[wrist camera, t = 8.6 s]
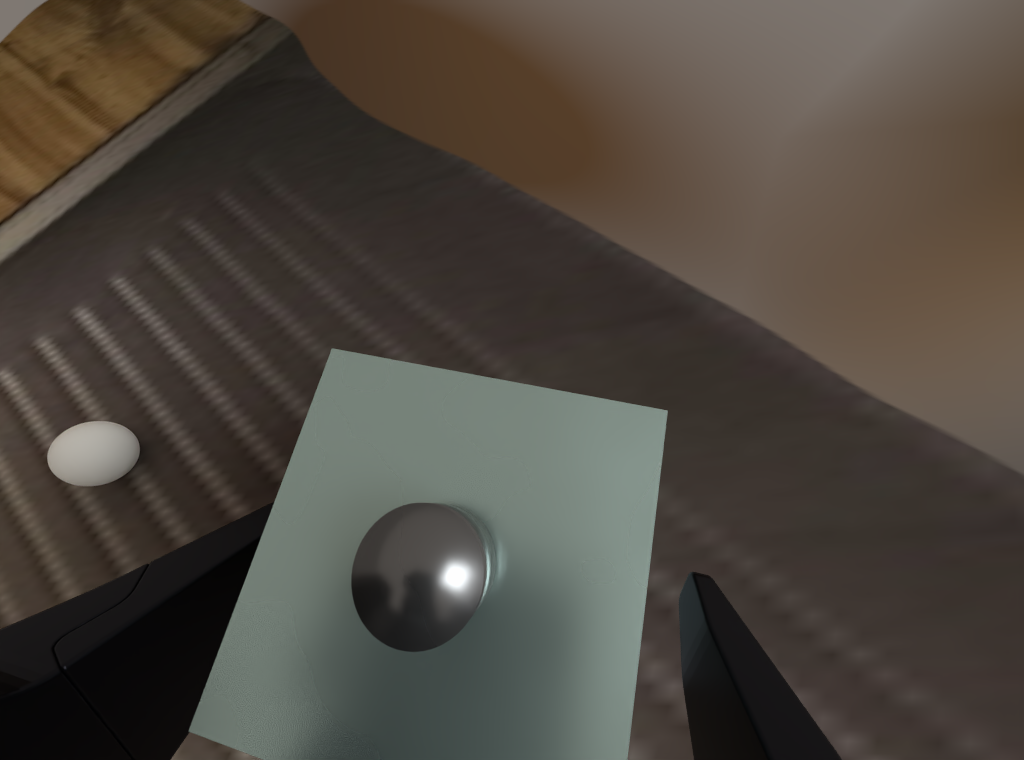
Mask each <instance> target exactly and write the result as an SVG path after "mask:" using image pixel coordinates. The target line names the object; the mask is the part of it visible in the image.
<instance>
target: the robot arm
mask: <svg viewBox="0 0 1024 760" xmlns="http://www.w3.org/2000/svg"><path fill="white" fill-rule="evenodd" d="M273 505H274V502H273V503H271V504H269V505H267V506H265V507H263V508H260V509H258V510H256V511H254V512H252V513H250V514H248V515H246V516H244V517H242V518H240V519H238V520H236V521H234V522H232V523H230V524H228V525H226V526H224V527H222V528H219V529H217V530H215V531H213V532H211V533H209V534H207V535H205V536H203V537H201V538H199V539H197V540H195V541H193V542H191V543H189V544H187V545H185V546H183V547H181V548H178V549H176V550H174V551H172V552H170V553H168V554H166V555H164V556H162V557H160V558H158V559H156V560H154V561H152V562H151V563H150V564H145V565H143V566H141V567H139V568H137V569H135V570H133V571H131V572H129V573H127V574H125V575H123V576H121V577H119V578H116V579H114V580H112V581H110V582H108V583H106V584H104V585H102V586H99V587H97V588H95V589H93V590H91V591H88V592H86V593H84V594H81V595H79V596H77V597H75V598H72V599H70V600H68V601H66V602H63V603H61V604H59V605H56V606H54V607H52V608H49V609H47V610H45V611H42V612H40V613H38V614H35V615H33V616H31V617H28V618H26V619H23V620H21V621H19V622H16V623H14V624H12V625H9V626H7V627H5V628H2V629H0V760H171V758H172V757H173V755H174V754H175V752H176V751H177V749H178V748H179V747H180V745H181V744H182V742H183V741H184V739H185V738H186V736H187V735H188V734H189V729H190V726H191V723H192V721H193V718H194V715H195V713H196V710H197V707H198V705H199V702H200V699H201V697H202V694H203V691H204V689H205V686H206V683H207V681H208V678H209V675H210V673H211V670H212V667H213V665H214V662H215V659H216V657H217V654H218V651H219V649H220V646H221V643H222V641H223V638H224V635H225V633H226V630H227V627H228V625H229V622H230V619H231V617H232V614H233V611H234V609H235V606H236V603H237V601H238V598H239V595H240V593H241V590H242V587H243V585H244V582H245V579H246V577H247V574H248V571H249V569H250V566H251V563H252V561H253V558H254V555H255V553H256V550H257V547H258V545H259V542H260V539H261V537H262V534H263V531H264V529H265V526H266V523H267V521H268V518H269V515H270V513H271V510H272V507H273ZM679 618H680V641H681V664H682V679H683V688H684V695H685V702H686V708H687V715H688V722H689V729H690V735H691V742H692V749H693V756H694V760H842V759H841V757H840V756H839V755H838V753H837V752H836V750H835V749H834V748H833V746H832V745H831V743H830V742H829V741H828V739H827V738H826V736H825V735H824V734H823V732H822V731H821V729H820V728H819V727H818V725H817V724H816V722H815V721H814V720H813V718H812V717H811V715H810V714H809V713H808V711H807V710H806V708H805V707H804V706H803V704H802V703H801V702H800V700H799V699H798V697H797V696H796V695H795V693H794V692H793V690H792V689H791V688H790V686H789V685H788V683H787V682H786V681H785V679H784V678H783V676H782V675H781V674H780V672H779V671H778V669H777V668H776V667H775V665H774V664H773V662H772V661H771V660H770V658H769V657H768V655H767V654H766V653H765V651H764V650H763V648H762V647H761V646H760V644H759V643H758V642H757V640H756V639H755V637H754V636H753V635H752V633H751V632H750V630H749V629H748V628H747V626H746V625H745V623H744V622H743V621H742V619H741V618H740V616H739V615H738V614H737V612H736V611H735V609H734V608H733V607H732V605H731V604H730V602H729V601H728V600H727V598H726V597H725V595H724V594H723V593H722V591H721V590H720V588H719V587H718V586H717V584H716V583H715V581H714V580H713V579H712V578H711V577H710V576H708V575H705V574H701V573H696V572H691V573H690V574H689V575H688V577H687V580H686V582H685V584H684V587H683V589H682V591H681V594H680V598H679Z"/></svg>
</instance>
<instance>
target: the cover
mask: <svg viewBox="0 0 1024 760" xmlns="http://www.w3.org/2000/svg"><path fill="white" fill-rule="evenodd" d="M667 412H668V411H667V410H661V409H656V408H651V407H645V406H640V405H634V404H629V403H624V402H618V401H613V400H607V399H602V398H597V397H591V396H586V395H580V394H575V393H570V392H564V391H559V390H554V389H548V388H543V387H537V386H532V385H527V384H521V383H516V382H510V381H505V380H500V379H494V378H489V377H483V376H478V375H473V374H467V373H462V372H456V371H451V370H446V369H440V368H435V367H430V366H424V365H419V364H413V363H408V362H403V361H397V360H392V359H386V358H381V357H376V356H370V355H365V354H359V353H354V352H349V351H343V350H338V349H332V350H331V353H330V355H329V358H328V361H327V363H326V366H325V369H324V371H323V374H322V377H321V379H320V382H319V385H318V387H317V390H316V393H315V395H314V398H313V401H312V403H311V406H310V409H309V411H308V414H307V417H306V419H305V422H304V425H303V427H302V430H301V433H300V435H299V438H298V441H297V443H296V446H295V449H294V451H293V454H292V457H291V459H290V462H289V465H288V467H287V470H286V473H285V475H284V478H283V481H282V483H281V486H280V489H279V491H278V494H277V497H276V499H275V502H274V505H273V507H272V510H271V513H270V515H269V518H268V521H267V523H266V526H265V529H264V531H263V534H262V537H261V539H260V542H259V545H258V547H257V550H256V553H255V555H254V558H253V561H252V563H251V566H250V569H249V571H248V574H247V577H246V579H245V582H244V585H243V587H242V590H241V593H240V595H239V598H238V601H237V603H236V606H235V609H234V611H233V614H232V617H231V619H230V622H229V625H228V627H227V630H226V633H225V635H224V638H223V641H222V643H221V646H220V649H219V651H218V654H217V657H216V659H215V662H214V665H213V667H212V670H211V673H210V675H209V678H208V681H207V683H206V686H205V689H204V691H203V694H202V697H201V699H200V702H199V705H198V707H197V710H196V713H195V715H194V718H193V721H192V723H191V726H190V729H189V732H191V733H194V734H197V735H199V736H202V737H205V738H207V739H210V740H213V741H215V742H218V743H221V744H223V745H226V746H228V747H231V748H234V749H236V750H239V751H242V752H244V753H247V754H250V755H252V756H255V757H258V758H260V759H263V760H627V757H628V749H629V740H630V731H631V723H632V714H633V705H634V697H635V688H636V679H637V671H638V662H639V654H640V645H641V636H642V628H643V619H644V610H645V602H646V593H647V584H648V576H649V567H650V558H651V550H652V541H653V533H654V524H655V515H656V507H657V498H658V489H659V481H660V472H661V463H662V455H663V446H664V438H665V429H666V420H667Z"/></svg>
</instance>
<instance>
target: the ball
mask: <svg viewBox="0 0 1024 760" xmlns="http://www.w3.org/2000/svg"><path fill="white" fill-rule="evenodd" d="M139 454H140V445H139V442H138V439H137V438H136V436H135V435H134V434H133V433H132V432H131V431H130V430H129V429H128V428H126V427H124V426H122V425H120V424H117V423H113V422H107V421H92V422H86V423H82V424H78V425H76V426H73V427H71V428H69V429H67V430H65V431H64V432H63V433H61V434H60V435H59V436H58V437H57V438H56V439H55V440H54V441H53V443H52V444H51V446H50V448H49V451H48V455H47V460H48V465H49V467H50V469H51V471H52V472H53V473H54V474H55V475H56V476H57V477H58V478H59V479H61V480H63V481H64V482H67V483H70V484H73V485H78V486H98V485H103V484H107V483H110V482H113V481H115V480H117V479H119V478H121V477H122V476H124V475H125V474H127V473H128V472H129V471H130V470H131V469H132V468H133V467H134V465H135V464H136V462H137V460H138V458H139Z"/></svg>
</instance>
